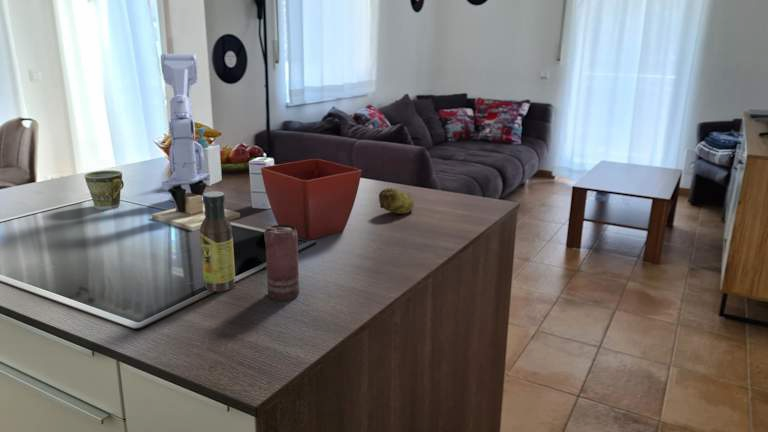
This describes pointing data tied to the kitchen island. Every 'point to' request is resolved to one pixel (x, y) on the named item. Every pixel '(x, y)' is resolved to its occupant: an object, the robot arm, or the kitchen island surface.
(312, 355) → the kitchen island surface
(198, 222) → the board
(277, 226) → the can
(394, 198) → the yellow-green lumpy oblong piece
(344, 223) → the plant pot
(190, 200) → the block
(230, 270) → the sauce bottle
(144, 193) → the kitchen island surface
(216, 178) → the soap bottle
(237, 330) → the kitchen island surface
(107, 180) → the ceramic cup
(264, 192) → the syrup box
